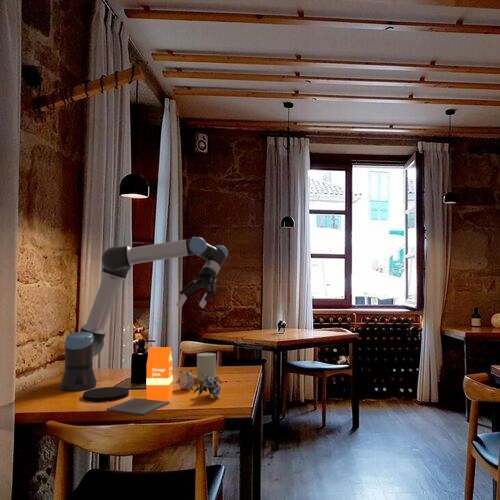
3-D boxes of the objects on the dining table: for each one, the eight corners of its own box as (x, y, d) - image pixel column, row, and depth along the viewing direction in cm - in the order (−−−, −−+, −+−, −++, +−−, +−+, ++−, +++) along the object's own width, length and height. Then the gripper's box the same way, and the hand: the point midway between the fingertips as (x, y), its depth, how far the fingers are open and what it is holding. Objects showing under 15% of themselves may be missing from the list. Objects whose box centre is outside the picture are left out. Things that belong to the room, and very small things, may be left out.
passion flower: (217, 412, 175) (221, 391, 169) (189, 408, 175) (193, 387, 169) (219, 390, 185) (224, 370, 179) (194, 386, 184) (197, 365, 178)
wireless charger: (72, 400, 176) (72, 395, 176) (104, 390, 192) (104, 385, 192) (108, 404, 169) (108, 399, 169) (137, 394, 185) (137, 389, 185)
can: (219, 378, 213) (219, 352, 214) (208, 381, 205) (208, 355, 206) (204, 376, 218) (204, 351, 219) (192, 379, 210) (192, 353, 211)
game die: (188, 399, 189) (191, 383, 184) (171, 391, 191) (173, 375, 185) (198, 385, 196) (201, 369, 191) (181, 377, 198) (183, 361, 193)
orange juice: (168, 400, 173) (168, 348, 175) (145, 400, 173) (146, 348, 175) (172, 395, 181) (172, 345, 182) (150, 395, 181) (151, 345, 183)
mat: (107, 410, 161) (107, 408, 161) (134, 399, 175) (134, 397, 175) (144, 415, 154) (144, 413, 154) (169, 403, 169) (169, 401, 169)
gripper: (234, 276, 207) (215, 311, 193) (193, 278, 221) (173, 312, 207) (226, 264, 203) (207, 300, 189) (185, 268, 217) (165, 301, 203)
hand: (189, 306), depth 198 cm, fingers open, 13 cm apart
